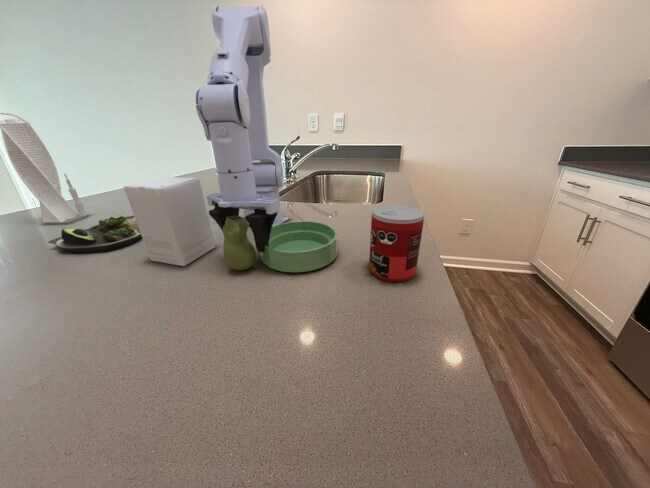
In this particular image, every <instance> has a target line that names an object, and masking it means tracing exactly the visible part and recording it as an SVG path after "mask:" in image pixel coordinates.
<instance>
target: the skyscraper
mask: <svg viewBox="0 0 650 488" xmlns="http://www.w3.org/2000/svg"><path fill="white" fill-rule="evenodd" d="M0 115H5V116H12V117H15V118H16V119H14V118H12V119H9V118H8V119H6V118H5V119H1V120H0V132H1V135H2V137H1V138H2V140H3V144H4V148H5V150H6V153H7V156H8V158H9V161H10V162H11V164H12V166H13V168H14V170H15V172H16V174H17V175H18V177H19V178H20V180H21V181H22V182H23V184H24V185H25V187H26V188H27V189H28V191H30V193H32V195H33V196H34V197H35V198H36V199H37V200H38V202H39V203H38V204H39V208H40V212H41V218H42V223H43V225H69V224H72V223H74V222H77V221H79V220H83V219H84V218H87V217H89V216H90V214H89V213H87V212H86V210H85V207H84V204H83V202H81V200H80V198H79V194H78V192H77V189H76V188H74V187H73V185H72V183H71V180H70V179H69V177H68V176H67V174H66V173H63V175H64V177H65V182H66V184H67V186H68V188H69V189H68V192H69V194H70V196H71V198H72V200H73V202H74V207H75V208H76V211H77V212H78V213H77V212H76V211H75V210H74V208H73V207H72V206H71V205H70V204H69V202H68V201H67V200H66V198H64V196H63V195H62V194H63V193H62V187H61V182H60V177H59V173H58V170H57V167H56V164H55V162H54V160H53V157H52V156H51V154H50V152H49V150H48V149H47V146H46V145H45V144H44V142H43V141H42V139H41V138H40V136H39V135H38V133H37V132H36V131H35V129H34V128H33V127H32V125H31V122H29V121H27V120H26V119H25V118H23V117H22V116H19V115H17V114H16V113H11V112H6V111H0Z"/></svg>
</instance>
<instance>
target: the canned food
mask: <svg viewBox="0 0 650 488" xmlns="http://www.w3.org/2000/svg"><path fill="white" fill-rule="evenodd" d="M424 220H425V212H424V211H423V210H422V209H420V208H417V207H415V206H410V205H405V204H383V205H379V206H376V207H374V208H373V209H372V211H371V220H370V221H371V223H370V239H369V258H368V259H369V260H368V263H369V264H368V265H369V270H370V273H371V274H372V275H373V276H374V277H375V278H377V279H379V280H381V281H385V282H391V283H403V282H406V281H409V280H411V279H412V278H413V277H414V276H415V274H416V271H417V267H418V262H419V261H418V260H419V256H420V248H421V241H422V235H423V228H424V223H425V222H424Z"/></svg>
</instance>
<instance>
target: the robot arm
mask: <svg viewBox="0 0 650 488" xmlns="http://www.w3.org/2000/svg"><path fill="white" fill-rule="evenodd" d="M211 22H212V27H213V28H212V29H213V32H214V35H215V39H216V40H217V42H218V44H219V45H220V48H217V49H216V50H215V51H214V53H213V54H212V56H211V59H210V64H209V69H208V74H207V79H206V83H205V84H202V85H201V86H200V87H199V88H198V89H196V90H195V94H194V102H195V110H196V113H197V116H198V119H199V121H200V123H201V125H202V128H203V132H204V136H205V137H206V140H207V141H209V142H210V147H211V152H212V157H213V162H214V167H215V172H216V176H217V177H216V178H217V182H218V185H219V186H218V187H219V192H213V193H210V194H206V195H205V197H206V201H207V205H208V207H209V206H210V207H213V209H209V211H208V216H210V217H211V218H212V220H214V221H215V223H216V224H217V225H218V226H219V229H221V231H222V232H223V226H224V224H225V221H226V217H229V216H235V215H237V216H240V209H241V210H243V217H245V219H246V220H247V222H248V226H249V228H250V230H251V232H252V235H253V239H254V243H255V247H256V248H255V249H256V250H257V252H258V253H260V252H263V251H265V246H268V247H269V239H270V233H271V229H272V226H275V225H278V224H281V223H286V222H287V221H289V217H286V216H282V208H281V199H280V198H281V197H280V190H279V189H280V188H282V187H283V186H284V182H285V181H284V169H283V163H282V157H281V155H280V154H279V153H277V152H276V151H275V150H274V149H272V148H271V147H270V146H269V133H268V124H267V123H268V121H267V113H266V110H267V109H266V102H265V100H266V99H265V91H264V90H265V89H264V88H265V87H264V69H265V67H266V66H267V65H268V64H270V63H271V56H272V50H271V49H272V48H271V35H270V26H269V18H268V14H267V10H266V9H265V8H264V6H263V5H262V4H261V5H258V6H218V5H214V6H213V8H212V11H211ZM254 161H259V162H254ZM261 161H262V162H261Z"/></svg>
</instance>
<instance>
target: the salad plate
mask: <svg viewBox="0 0 650 488" xmlns="http://www.w3.org/2000/svg"><path fill="white" fill-rule="evenodd" d="M133 219H135V216H134V215H129V216H123V215H122V214H119V215H117V217H113V216H110V217H109V218H104V219H99V220H98V223H96V224H92V225H90V226H87V227H85V228H74V227H64V228H62V229H61V232H60V235H61V236H59V237H56V238H53V239H51V240H48V242H47V244H54V245H55V247H56V248H57V249H59V250H61V251H63V252H65V253H69V254H95V253H103V252H104V253H105V252H110V251H114V250H119V249H122V248H125V247H127V246H129V245H132V244H133V243H135V242H136V241H138V240H139V239H141V238H142V235H141V233H140V230H139V227H138V224H137V222H136V220H133Z"/></svg>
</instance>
